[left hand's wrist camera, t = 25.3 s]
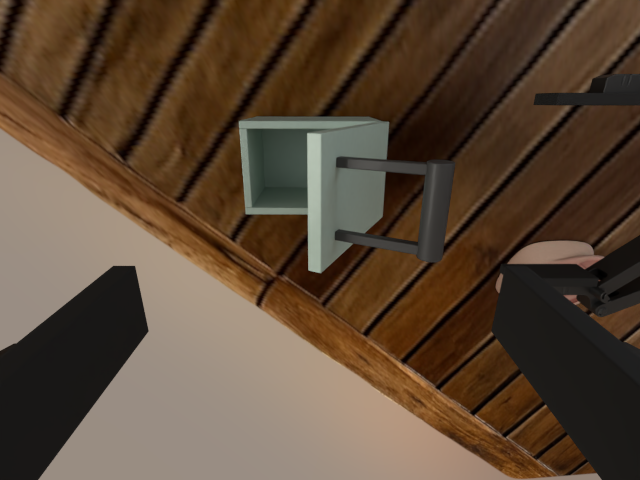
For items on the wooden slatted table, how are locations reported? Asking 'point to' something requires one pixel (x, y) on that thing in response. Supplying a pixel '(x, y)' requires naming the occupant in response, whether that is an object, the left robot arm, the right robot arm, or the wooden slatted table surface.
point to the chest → (281, 160)
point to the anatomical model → (555, 257)
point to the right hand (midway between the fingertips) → (524, 195)
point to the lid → (367, 194)
